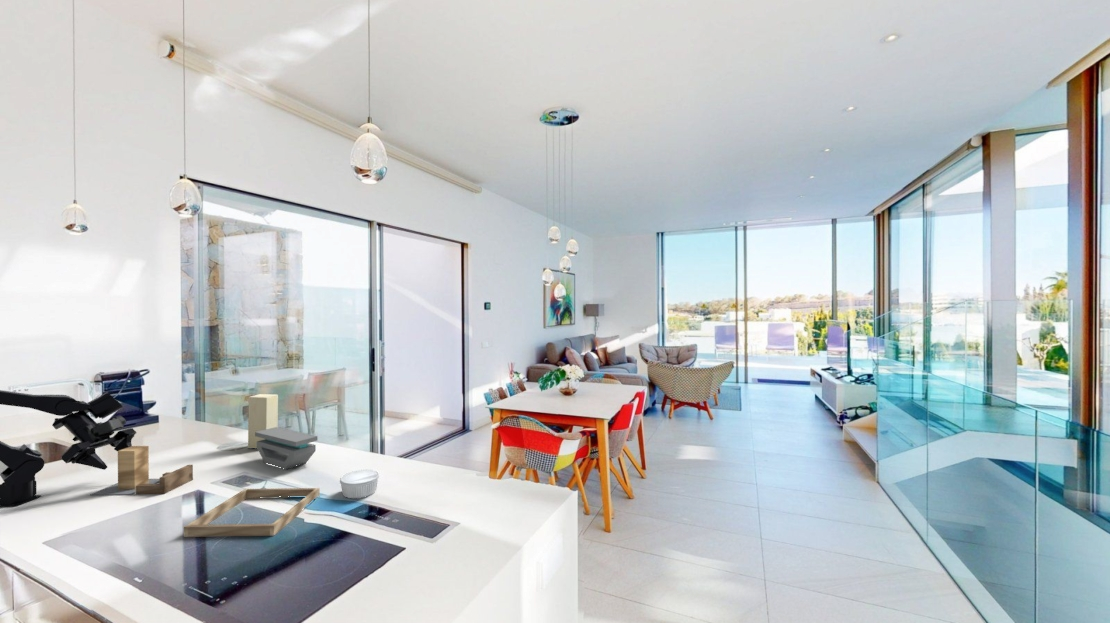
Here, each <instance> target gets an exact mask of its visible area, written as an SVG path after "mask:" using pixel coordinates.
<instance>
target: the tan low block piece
mask: <svg viewBox="0 0 1110 623" xmlns="http://www.w3.org/2000/svg"><path fill="white" fill-rule="evenodd" d="M193 469H194V464H187V465H184V466H181V467H180V468H179V469H175V470H174V471H171V472H170V471H169V472H167V471H166V472H165V473H162V476H160V477H159V479H160V482H159V483H156V484H139V485H137V486H136V493H135V494H136V495H165V494H168V493H169V492H171V491H174V490H176V489H177V488H179V487H181V486H183V485H186V484H187V483H189V482H191V481H193V480H194V470H193Z"/></svg>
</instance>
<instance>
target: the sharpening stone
mask: <svg viewBox="0 0 1110 623" xmlns="http://www.w3.org/2000/svg"><path fill="white" fill-rule="evenodd" d="M255 436H256V437H260V438H264V440H260V441H257V449H256V450H257V452H259V454H260V456H261V458H262V460H263V462H264V464H265V463H268V464H272V465H275V466H278V467H281V468H284V469H286V470H288V469H287V468H289V469H291V468H290V467H292V468H295V467H297V466H296V465H298V466H300V465H299V464H302V463H305V464H306V463H307V462H309V460H310V458H312V456H313V455H314V453H315V452H316V449H317V448H316V444H314V443H313V442H317V441H318V435H315V434H311V433H306V432H302V431H297V430H296V431H295V430H293V429H287V428H284V427H279V426H278V427H275V428H270V429H266V430H262V431H257V432H255ZM302 465H303V464H302ZM294 466H295V467H294Z"/></svg>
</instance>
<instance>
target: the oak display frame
mask: <svg viewBox="0 0 1110 623" xmlns="http://www.w3.org/2000/svg"><path fill="white" fill-rule="evenodd" d="M320 490H321V489H320V487H304V488H303V487H302V488H301V487H298V488H295V487H294V488H290V487H289V488H287V487H286V488H244V489H243V490H241V491H239V492H238V493H236V494H234V495H232V496H231V497H229V498H228V499H226V500H225V501H222V503H220V504H218V505H217V506H215V507H214V508H212V509H210V510H209V511H207V512H206V513H204V514H202V515H200V516H199V517H198V518H196V519H195V520H193V521H190V523H188V524H187V525H185V526H183V537H184V538H198V537H200V538H202V537H207V538H208V537H210V538H211V537H261V536H262V537H268V536H269V537H270V536H271V537H273V536H275V535H277V534H278V533H279V532H280V531H281V530H283V528H285V527H286V526H287V525H289V523H291V522H292V521H293V520H294V519H295V518H297V516H299V515H300V514H301V513H302V512H303V511H302V509H303V508H304V507H305V506H306V505H307V504H309V503H310V502H311V501H312V500H314V499H315V498H316V497H318V496H319V495H321V494H320ZM279 496H281V497H288V496H289V497H290V496H306V497H305V498H301V500H300V501H298V502H297V503H296V504H295V505H294V506H292V507H291V508H290V509H289V510H288V511H286V512H285V513H283V515H282V516H280V517H279V518H277V519H276V520H275V521H274V522H273V523H244V524H243V523H241V524H240V523H238V524H237V523H236V524H235V523H234V524H230V523H229V524H210V523H211V522H212V521H214V520H216V519H217V518H219V517H220V516H222V515H224V514H225V513H227V512H229V511H230V510H231V509H232V508H234V507H236V506H237V505H239V504H240V503H242V502H243V501H245V500H246V499H249V498H250V499H261V498H260V497H279ZM319 497H320V496H319ZM319 497H318V498H319ZM301 511H302V512H301ZM300 512H301V513H300ZM299 513H300V514H299Z"/></svg>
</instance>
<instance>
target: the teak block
mask: <svg viewBox="0 0 1110 623" xmlns="http://www.w3.org/2000/svg"><path fill="white" fill-rule="evenodd" d="M149 461H150V460H149V445H132V446H131V447H128V448H125V449H122V450H119V451H117V483H118V489H136V486H137V485H139V484H147V483H149V479H150V475H149V474H150V472H149V470H150V468H149V465H150V464H149V463H150V462H149Z"/></svg>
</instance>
